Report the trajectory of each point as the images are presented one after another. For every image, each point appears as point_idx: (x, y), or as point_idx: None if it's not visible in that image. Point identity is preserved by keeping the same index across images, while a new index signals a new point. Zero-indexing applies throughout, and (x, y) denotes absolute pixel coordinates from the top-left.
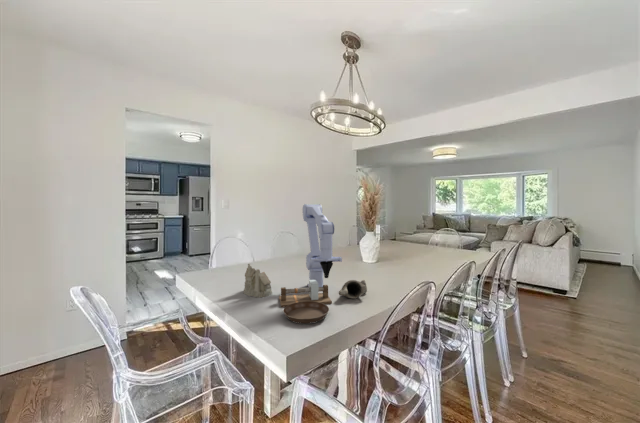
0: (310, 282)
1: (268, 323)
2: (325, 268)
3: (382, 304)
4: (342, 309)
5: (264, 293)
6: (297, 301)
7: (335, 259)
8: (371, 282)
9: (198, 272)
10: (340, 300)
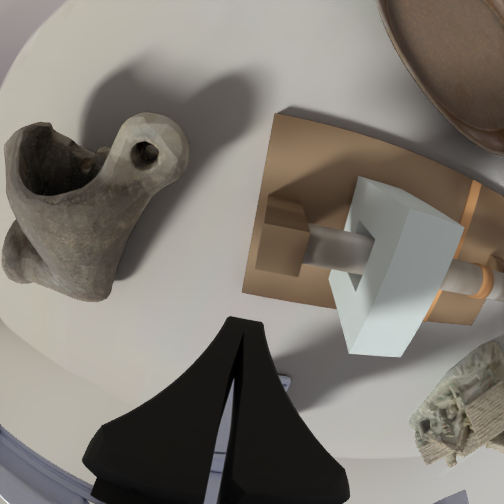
0: (438, 289)
1: None
2: (265, 419)
3: (40, 54)
4: (253, 7)
5: (491, 354)
6: (465, 214)
7: (12, 484)
8: (23, 328)
9: (438, 477)
10: (192, 151)
